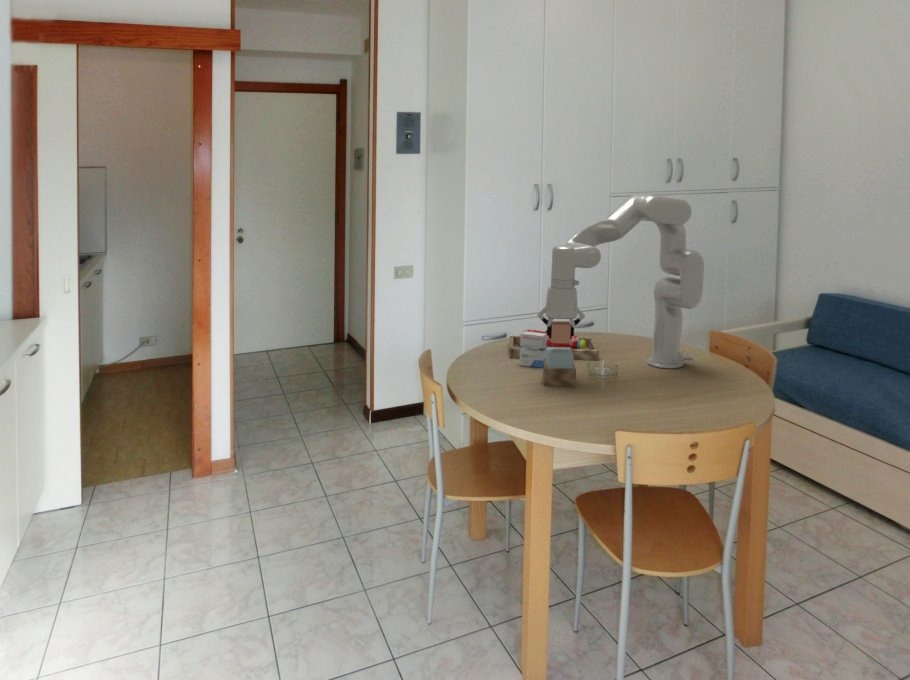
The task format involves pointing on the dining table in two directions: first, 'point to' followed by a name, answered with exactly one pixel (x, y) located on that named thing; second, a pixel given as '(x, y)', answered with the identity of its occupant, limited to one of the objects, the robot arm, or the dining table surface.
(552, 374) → the walnut block
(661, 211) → the robot arm
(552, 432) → the dining table surface
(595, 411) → the dining table surface
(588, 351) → the bottle cradle
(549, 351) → the teal block
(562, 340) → the rust cube
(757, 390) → the dining table surface
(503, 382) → the dining table surface
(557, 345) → the water bottle
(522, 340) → the ink box
